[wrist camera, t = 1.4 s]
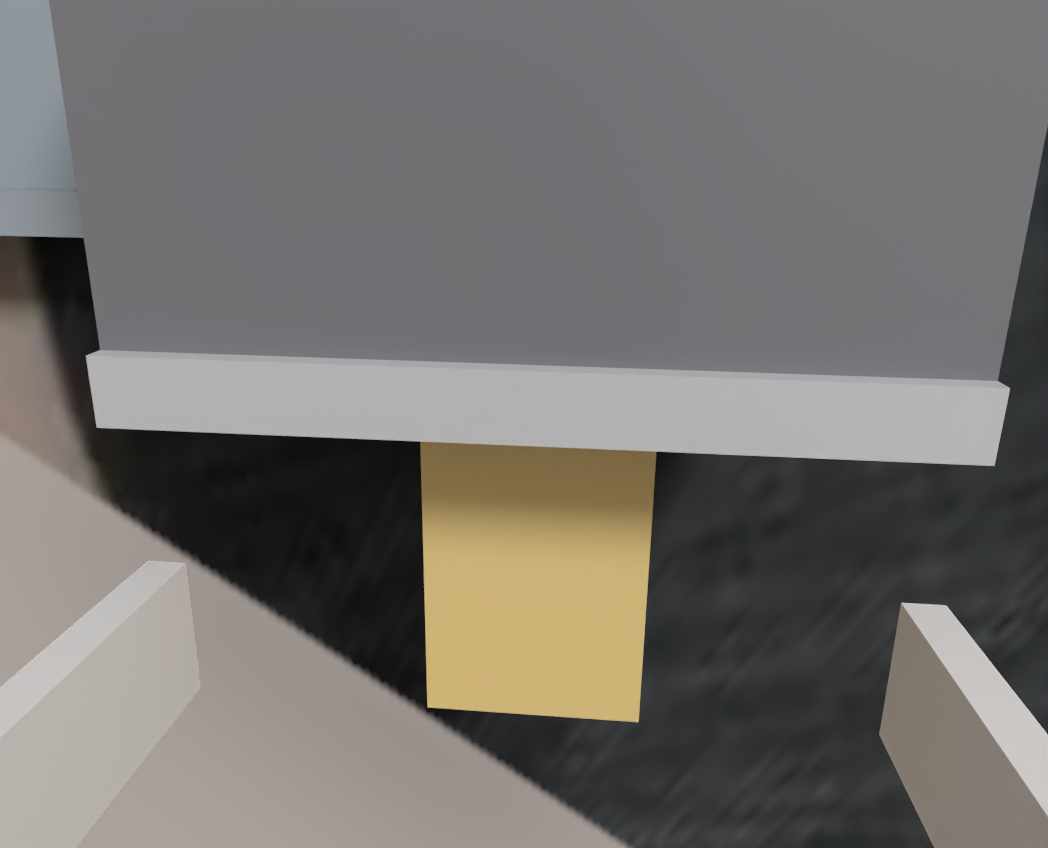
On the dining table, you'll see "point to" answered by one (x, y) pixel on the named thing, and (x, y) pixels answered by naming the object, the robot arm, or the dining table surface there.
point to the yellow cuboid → (536, 578)
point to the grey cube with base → (558, 219)
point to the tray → (33, 128)
